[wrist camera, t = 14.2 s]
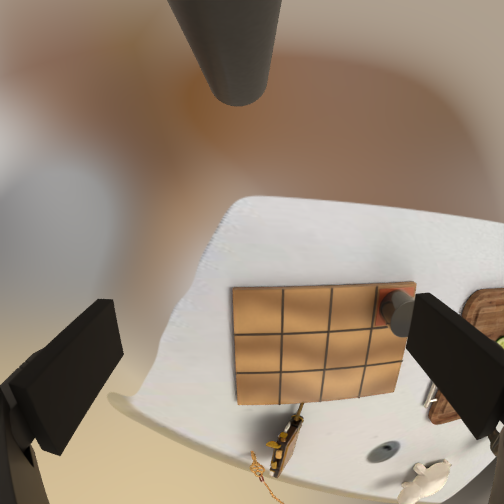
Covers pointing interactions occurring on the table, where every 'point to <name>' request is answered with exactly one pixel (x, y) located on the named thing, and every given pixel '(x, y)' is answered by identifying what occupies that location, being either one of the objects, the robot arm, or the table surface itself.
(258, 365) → the game board
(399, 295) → the dark grey short cylinder
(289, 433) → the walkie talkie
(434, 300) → the robot arm
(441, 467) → the white lumpy sculpture
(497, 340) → the chopping board
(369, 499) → the table surface
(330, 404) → the table surface
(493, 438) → the light bulb
